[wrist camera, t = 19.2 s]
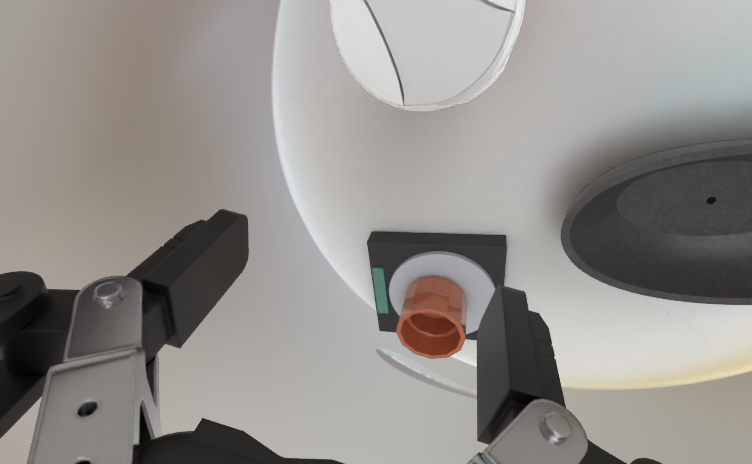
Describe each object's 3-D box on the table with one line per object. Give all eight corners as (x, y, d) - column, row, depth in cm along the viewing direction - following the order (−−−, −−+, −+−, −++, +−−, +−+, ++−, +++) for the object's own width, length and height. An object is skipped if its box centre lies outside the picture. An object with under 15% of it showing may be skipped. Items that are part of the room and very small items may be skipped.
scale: (383, 318, 45) (378, 334, 43) (371, 231, 39) (365, 245, 37) (498, 328, 42) (499, 346, 40) (505, 235, 36) (507, 250, 34)
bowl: (556, 123, 30) (571, 150, 25) (937, 101, 24) (1059, 130, 19) (542, 252, 36) (552, 296, 31) (844, 259, 30) (918, 314, 25)
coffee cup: (368, -1, 29) (280, 6, 16) (459, -103, 24) (435, -199, 12) (438, 90, 31) (407, 157, 18) (533, 10, 27) (576, 27, 14)
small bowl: (401, 311, 41) (391, 347, 36) (412, 267, 37) (403, 301, 33) (457, 327, 40) (454, 365, 36) (474, 283, 37) (472, 320, 32)
